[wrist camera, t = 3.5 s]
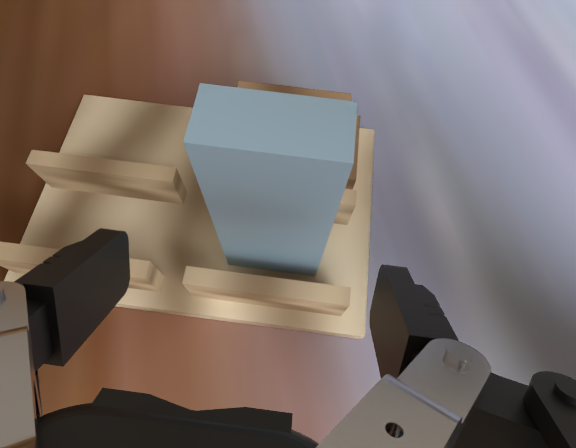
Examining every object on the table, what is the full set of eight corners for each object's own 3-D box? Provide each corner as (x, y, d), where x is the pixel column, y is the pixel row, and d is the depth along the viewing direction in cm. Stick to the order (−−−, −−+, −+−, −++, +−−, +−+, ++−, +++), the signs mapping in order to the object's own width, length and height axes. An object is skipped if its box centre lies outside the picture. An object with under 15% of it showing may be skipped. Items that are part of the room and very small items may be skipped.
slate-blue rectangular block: (319, 239, 25) (357, 101, 13) (315, 276, 24) (353, 163, 12) (235, 228, 25) (199, 83, 14) (228, 264, 24) (183, 142, 13)
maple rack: (370, 139, 30) (384, 101, 26) (360, 339, 24) (377, 328, 20) (91, 105, 31) (64, 63, 27) (13, 292, 25) (-36, 273, 21)
